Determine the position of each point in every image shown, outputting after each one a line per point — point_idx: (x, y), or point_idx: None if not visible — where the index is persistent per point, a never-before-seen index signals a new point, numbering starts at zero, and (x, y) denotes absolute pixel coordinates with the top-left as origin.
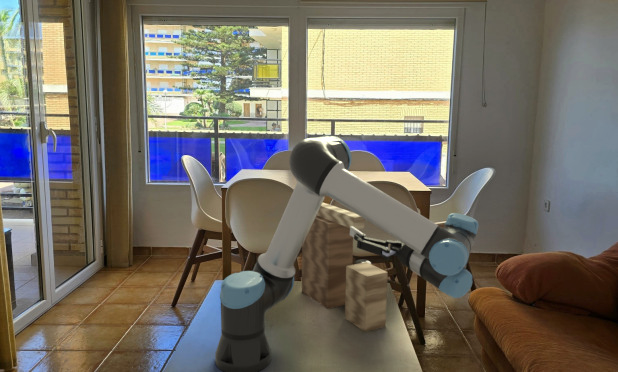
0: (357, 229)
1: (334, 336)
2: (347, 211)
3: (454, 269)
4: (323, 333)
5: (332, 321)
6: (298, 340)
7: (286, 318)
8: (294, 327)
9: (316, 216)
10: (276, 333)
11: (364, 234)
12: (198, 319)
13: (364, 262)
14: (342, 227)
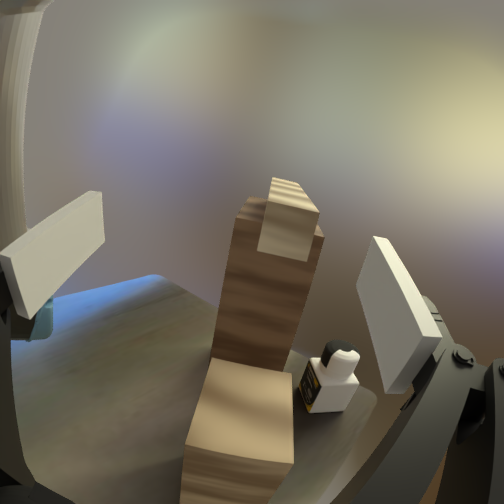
0: (72, 211)
1: (106, 477)
2: (300, 195)
3: None
4: (101, 453)
5: (162, 442)
6: (47, 428)
7: (110, 377)
8: (88, 402)
9: (259, 204)
10: (51, 389)
11: (18, 250)
12: None
13: (284, 372)
14: None
